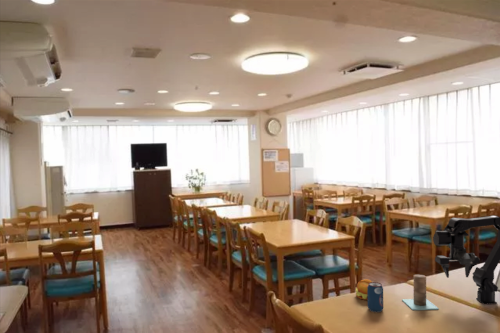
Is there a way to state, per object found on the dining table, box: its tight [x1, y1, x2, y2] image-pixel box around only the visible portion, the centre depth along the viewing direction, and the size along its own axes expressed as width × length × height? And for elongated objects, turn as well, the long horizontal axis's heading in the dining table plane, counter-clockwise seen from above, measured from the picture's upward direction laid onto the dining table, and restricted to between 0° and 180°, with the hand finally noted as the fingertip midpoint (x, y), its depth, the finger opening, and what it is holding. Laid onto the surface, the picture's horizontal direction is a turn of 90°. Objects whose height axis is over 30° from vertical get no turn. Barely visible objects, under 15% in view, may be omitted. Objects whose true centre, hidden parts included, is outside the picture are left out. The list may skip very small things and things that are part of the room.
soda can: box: [367, 281, 384, 313], centre depth 181 cm, size 7×7×12 cm
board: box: [401, 298, 439, 311], centre depth 186 cm, size 12×12×1 cm
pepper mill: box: [413, 274, 427, 306], centre depth 185 cm, size 6×6×13 cm
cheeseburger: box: [355, 278, 373, 301], centre depth 196 cm, size 10×11×10 cm
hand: (457, 277), depth 188 cm, fingers open, 9 cm apart
